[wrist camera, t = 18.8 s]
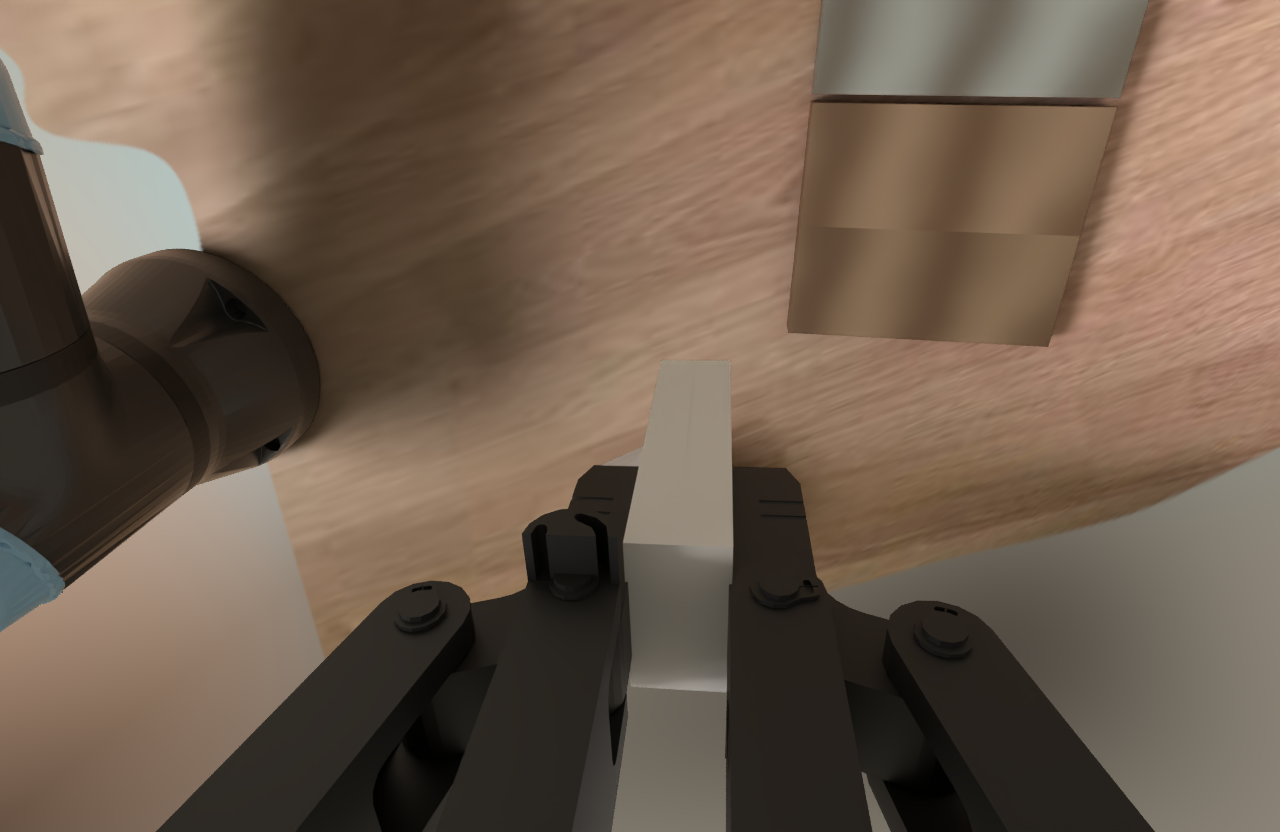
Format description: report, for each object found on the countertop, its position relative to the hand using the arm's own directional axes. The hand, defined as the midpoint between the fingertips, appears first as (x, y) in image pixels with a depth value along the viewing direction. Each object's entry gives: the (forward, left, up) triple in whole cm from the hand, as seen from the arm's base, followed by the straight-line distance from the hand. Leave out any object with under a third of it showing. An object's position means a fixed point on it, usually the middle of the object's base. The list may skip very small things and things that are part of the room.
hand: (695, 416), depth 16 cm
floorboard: (+11, -1, -26) cm, 28 cm away
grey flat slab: (+11, +11, -26) cm, 30 cm away
